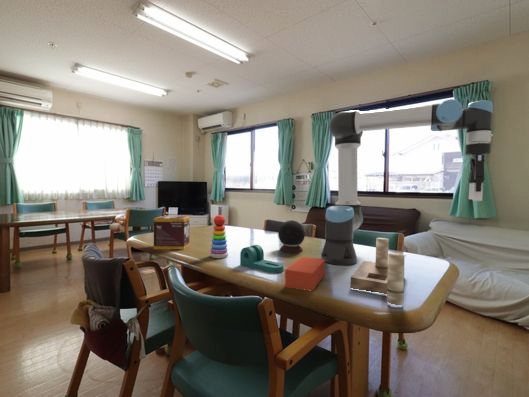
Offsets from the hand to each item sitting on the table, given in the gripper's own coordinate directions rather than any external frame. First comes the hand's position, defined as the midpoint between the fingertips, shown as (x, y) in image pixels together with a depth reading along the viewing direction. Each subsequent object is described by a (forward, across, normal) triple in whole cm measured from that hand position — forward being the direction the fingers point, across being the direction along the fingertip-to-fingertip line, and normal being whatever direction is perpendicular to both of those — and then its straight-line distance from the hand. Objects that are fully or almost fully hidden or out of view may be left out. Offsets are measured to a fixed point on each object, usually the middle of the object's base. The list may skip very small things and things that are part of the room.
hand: (474, 200), depth 106 cm
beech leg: (+28, -49, +21) cm, 60 cm away
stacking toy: (+28, -37, +95) cm, 106 cm away
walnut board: (+28, -34, +28) cm, 52 cm away
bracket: (+28, -40, +70) cm, 85 cm away
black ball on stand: (+28, -8, +73) cm, 78 cm away
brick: (+28, -44, +50) cm, 72 cm away
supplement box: (+28, -36, +127) cm, 135 cm away
